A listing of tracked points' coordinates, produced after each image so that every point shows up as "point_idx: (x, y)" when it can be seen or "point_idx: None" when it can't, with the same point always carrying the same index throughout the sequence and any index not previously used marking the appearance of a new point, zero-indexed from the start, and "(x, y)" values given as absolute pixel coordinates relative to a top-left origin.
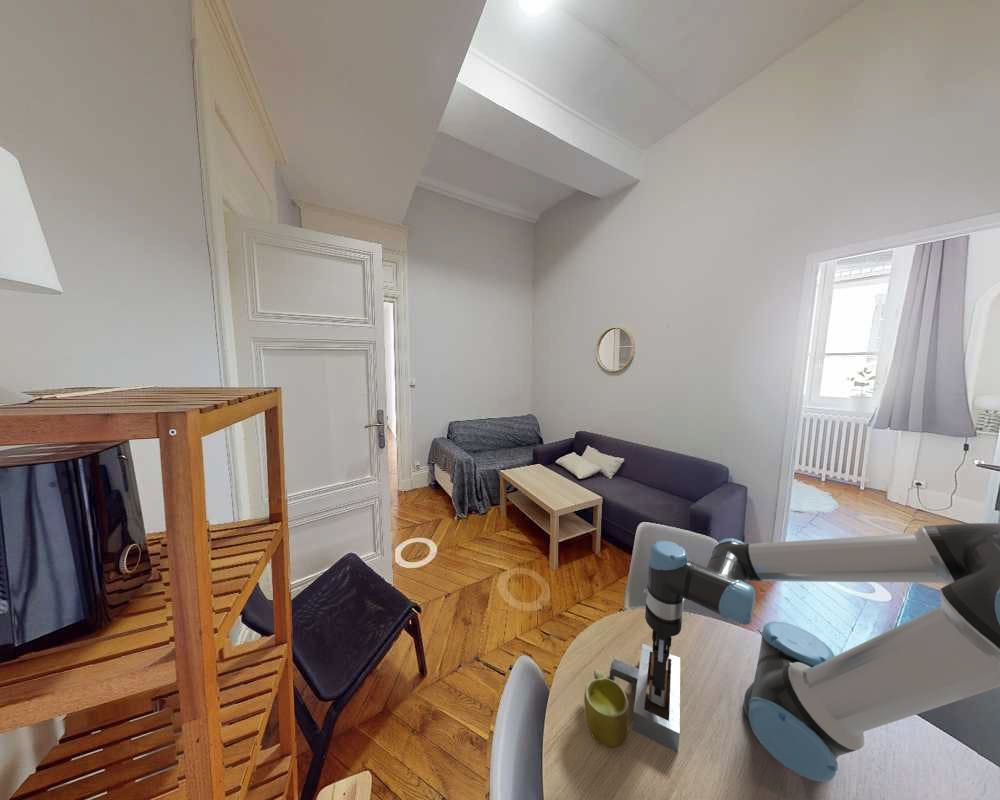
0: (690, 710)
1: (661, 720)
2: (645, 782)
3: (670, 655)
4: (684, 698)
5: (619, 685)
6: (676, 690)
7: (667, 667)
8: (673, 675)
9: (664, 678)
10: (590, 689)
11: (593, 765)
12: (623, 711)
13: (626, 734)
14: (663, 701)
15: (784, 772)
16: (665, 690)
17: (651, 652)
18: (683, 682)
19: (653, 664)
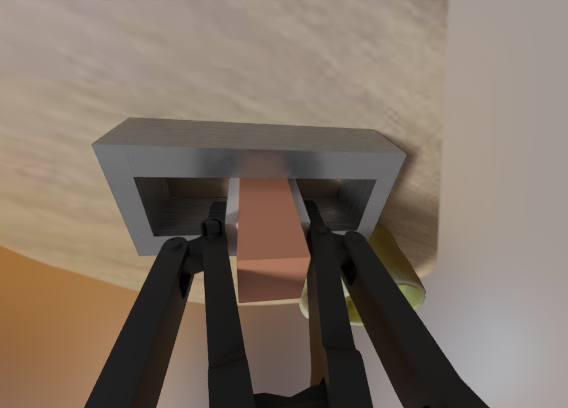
0: (247, 87)
1: (377, 195)
2: (428, 185)
3: (114, 179)
4: (215, 103)
5: (346, 295)
6: (267, 159)
7: (295, 258)
8: (209, 169)
9: (396, 286)
10: (352, 312)
11: (408, 247)
12: (416, 285)
13: (380, 231)
14: (295, 180)
15: None
16: (291, 194)
17: (153, 230)
18: (152, 103)
19: (301, 292)
